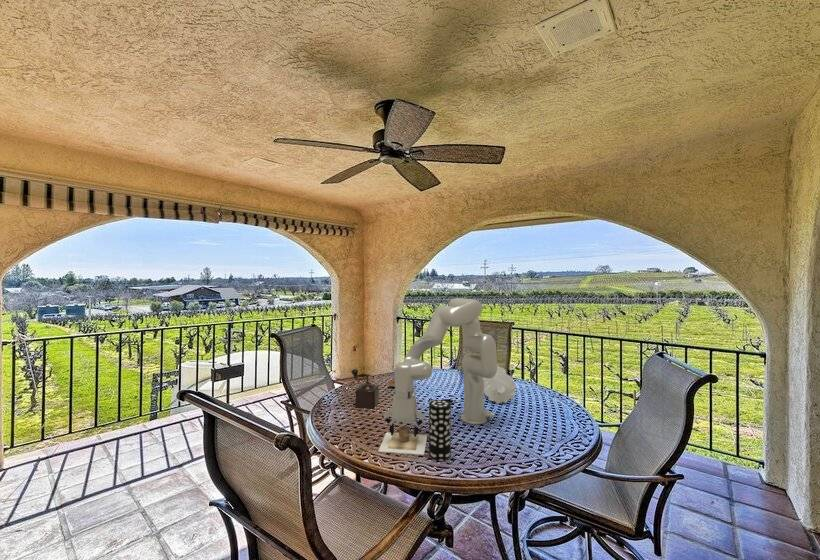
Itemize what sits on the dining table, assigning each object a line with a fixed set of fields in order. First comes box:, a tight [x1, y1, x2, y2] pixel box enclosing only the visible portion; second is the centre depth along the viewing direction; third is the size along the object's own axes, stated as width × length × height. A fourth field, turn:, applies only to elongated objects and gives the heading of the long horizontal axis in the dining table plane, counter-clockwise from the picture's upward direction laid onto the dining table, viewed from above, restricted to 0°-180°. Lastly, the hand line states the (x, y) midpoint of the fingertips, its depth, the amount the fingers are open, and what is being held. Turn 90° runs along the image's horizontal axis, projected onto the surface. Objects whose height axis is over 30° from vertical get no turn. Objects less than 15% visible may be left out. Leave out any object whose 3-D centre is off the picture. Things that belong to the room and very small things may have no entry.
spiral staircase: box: [483, 364, 517, 405], centre depth 192 cm, size 18×18×25 cm
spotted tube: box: [428, 399, 452, 462], centre depth 130 cm, size 8×8×20 cm
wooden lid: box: [388, 425, 420, 450], centre depth 139 cm, size 11×11×6 cm
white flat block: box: [377, 432, 428, 456], centre depth 139 cm, size 18×16×1 cm
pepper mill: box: [351, 368, 380, 410], centre depth 182 cm, size 16×11×18 cm
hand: (403, 434), depth 139 cm, fingers open, 9 cm apart
